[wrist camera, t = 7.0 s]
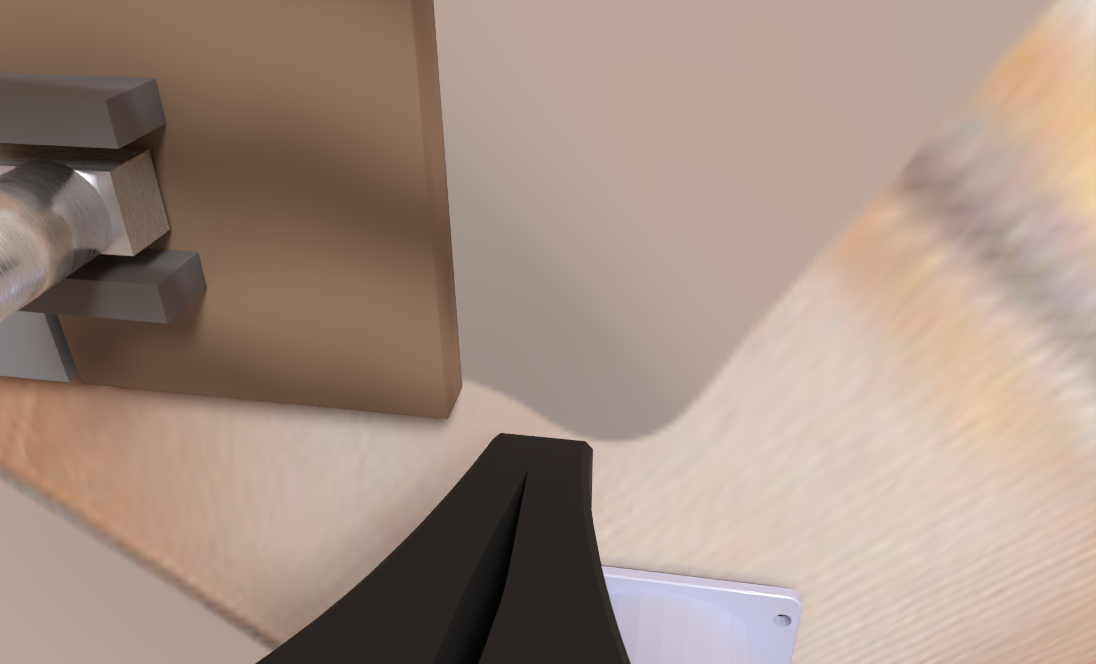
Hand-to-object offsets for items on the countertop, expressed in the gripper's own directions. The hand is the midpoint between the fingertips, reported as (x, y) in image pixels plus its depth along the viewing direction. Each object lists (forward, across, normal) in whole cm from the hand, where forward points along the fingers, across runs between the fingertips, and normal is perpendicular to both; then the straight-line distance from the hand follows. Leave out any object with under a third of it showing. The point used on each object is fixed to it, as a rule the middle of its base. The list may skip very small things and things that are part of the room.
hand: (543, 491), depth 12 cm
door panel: (+9, +9, -1) cm, 13 cm away
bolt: (+8, +15, -1) cm, 17 cm away
